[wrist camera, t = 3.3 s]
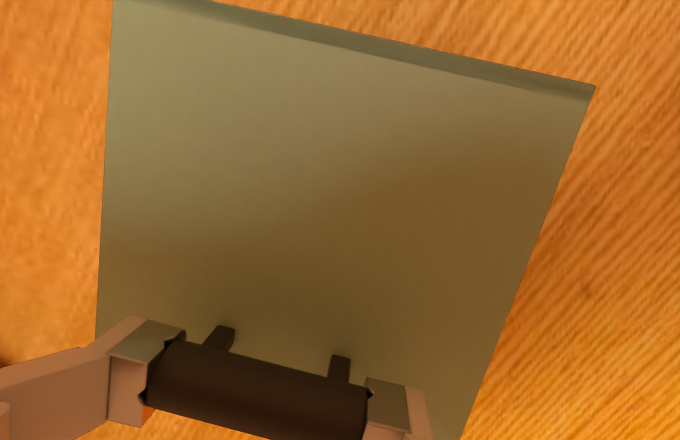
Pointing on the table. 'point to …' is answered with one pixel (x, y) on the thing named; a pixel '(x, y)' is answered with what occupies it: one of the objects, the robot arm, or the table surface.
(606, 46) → the table surface
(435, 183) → the bin
